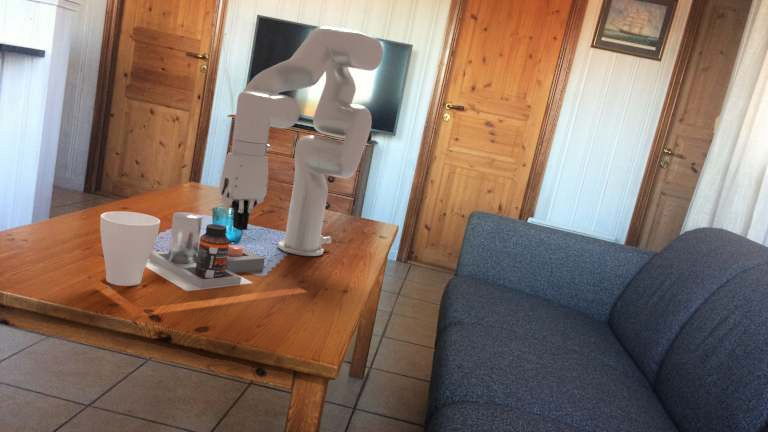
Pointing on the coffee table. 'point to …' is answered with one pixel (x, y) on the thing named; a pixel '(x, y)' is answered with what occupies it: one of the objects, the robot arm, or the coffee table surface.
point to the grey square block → (245, 262)
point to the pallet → (189, 274)
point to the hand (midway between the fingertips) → (239, 228)
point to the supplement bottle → (212, 252)
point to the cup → (127, 245)
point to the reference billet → (184, 238)
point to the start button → (235, 251)
